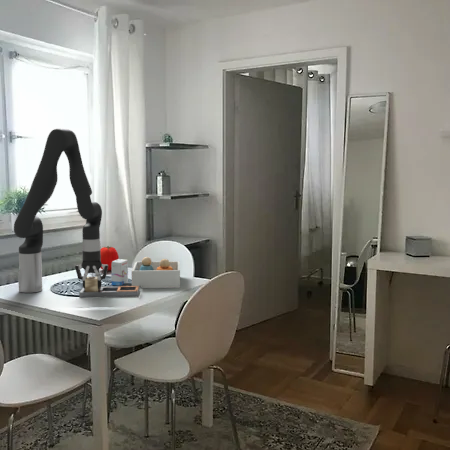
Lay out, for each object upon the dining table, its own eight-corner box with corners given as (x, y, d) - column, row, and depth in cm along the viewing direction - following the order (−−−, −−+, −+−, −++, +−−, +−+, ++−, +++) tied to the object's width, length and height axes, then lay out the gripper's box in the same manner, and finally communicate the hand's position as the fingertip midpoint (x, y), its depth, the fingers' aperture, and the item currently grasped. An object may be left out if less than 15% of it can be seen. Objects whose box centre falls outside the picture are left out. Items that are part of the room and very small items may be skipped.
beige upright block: (85, 295, 214) (84, 278, 213) (87, 292, 219) (87, 276, 218) (97, 295, 215) (97, 278, 214) (99, 292, 220) (98, 275, 219)
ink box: (121, 287, 233) (120, 262, 232) (111, 287, 234) (110, 261, 233) (128, 283, 241) (128, 259, 240) (118, 283, 242) (118, 258, 241)
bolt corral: (131, 288, 232) (131, 271, 231) (135, 277, 255) (135, 261, 254) (180, 287, 234) (180, 270, 233) (179, 276, 257) (179, 261, 256)
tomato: (121, 268, 278) (120, 244, 276) (116, 272, 265) (116, 247, 264) (99, 268, 277) (99, 244, 276) (94, 272, 265) (93, 247, 264)
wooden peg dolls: (182, 279, 252) (182, 254, 250) (169, 287, 235) (169, 260, 234) (149, 277, 257) (148, 252, 255) (133, 284, 240) (133, 258, 239)
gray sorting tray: (79, 299, 212) (79, 292, 211) (83, 293, 222) (83, 286, 221) (137, 298, 214) (137, 291, 214) (139, 292, 224) (139, 285, 224)
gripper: (72, 250, 210) (73, 291, 212) (107, 250, 212) (108, 290, 214) (75, 248, 218) (76, 286, 220) (109, 247, 219) (110, 286, 221)
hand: (92, 288), depth 217 cm, fingers closed on beige upright block, 5 cm apart
